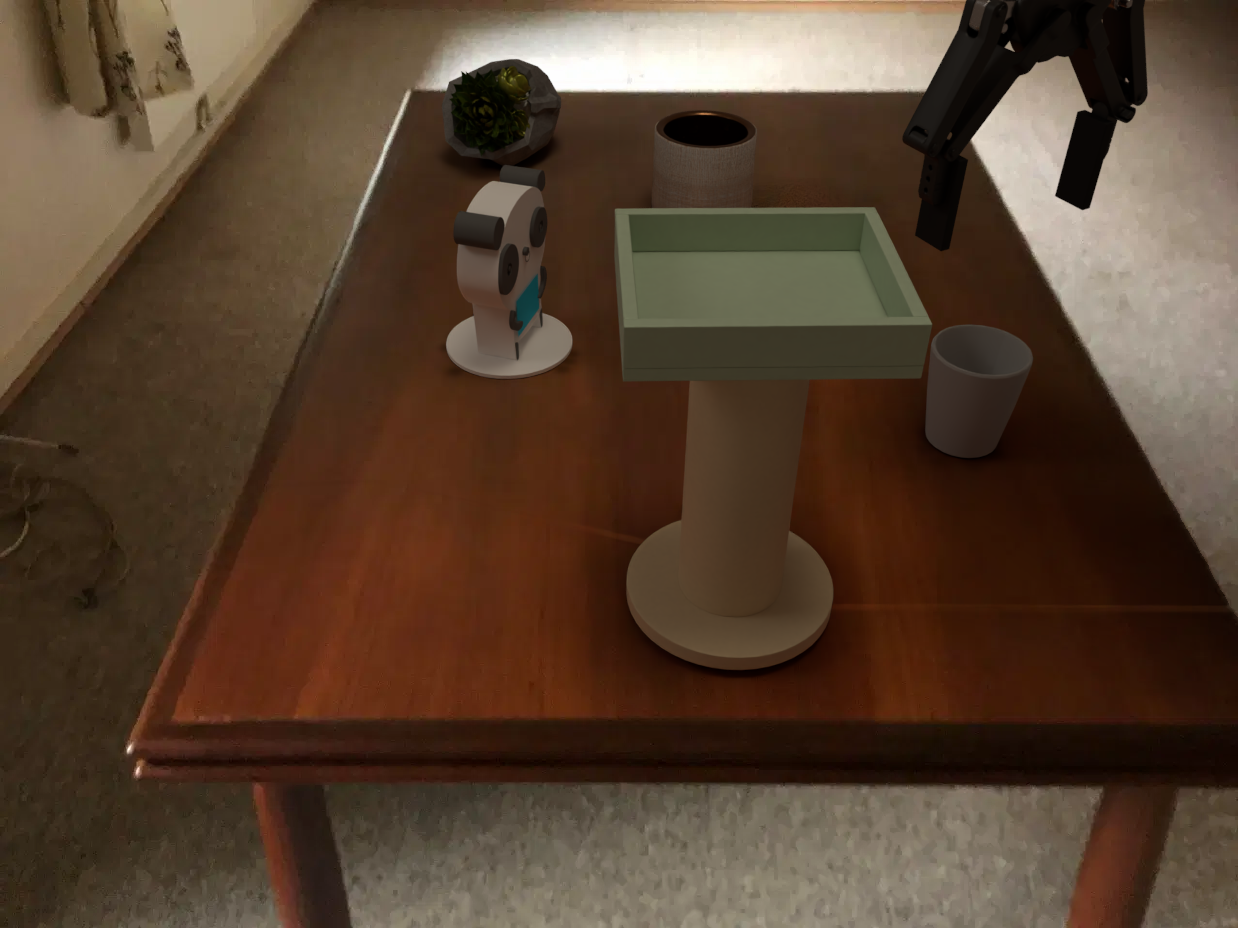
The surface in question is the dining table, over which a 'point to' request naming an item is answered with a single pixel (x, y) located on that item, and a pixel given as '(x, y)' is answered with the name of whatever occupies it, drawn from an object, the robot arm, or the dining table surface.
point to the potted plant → (501, 111)
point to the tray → (751, 404)
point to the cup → (973, 387)
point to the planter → (703, 160)
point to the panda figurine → (505, 282)
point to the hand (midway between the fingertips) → (1004, 222)
